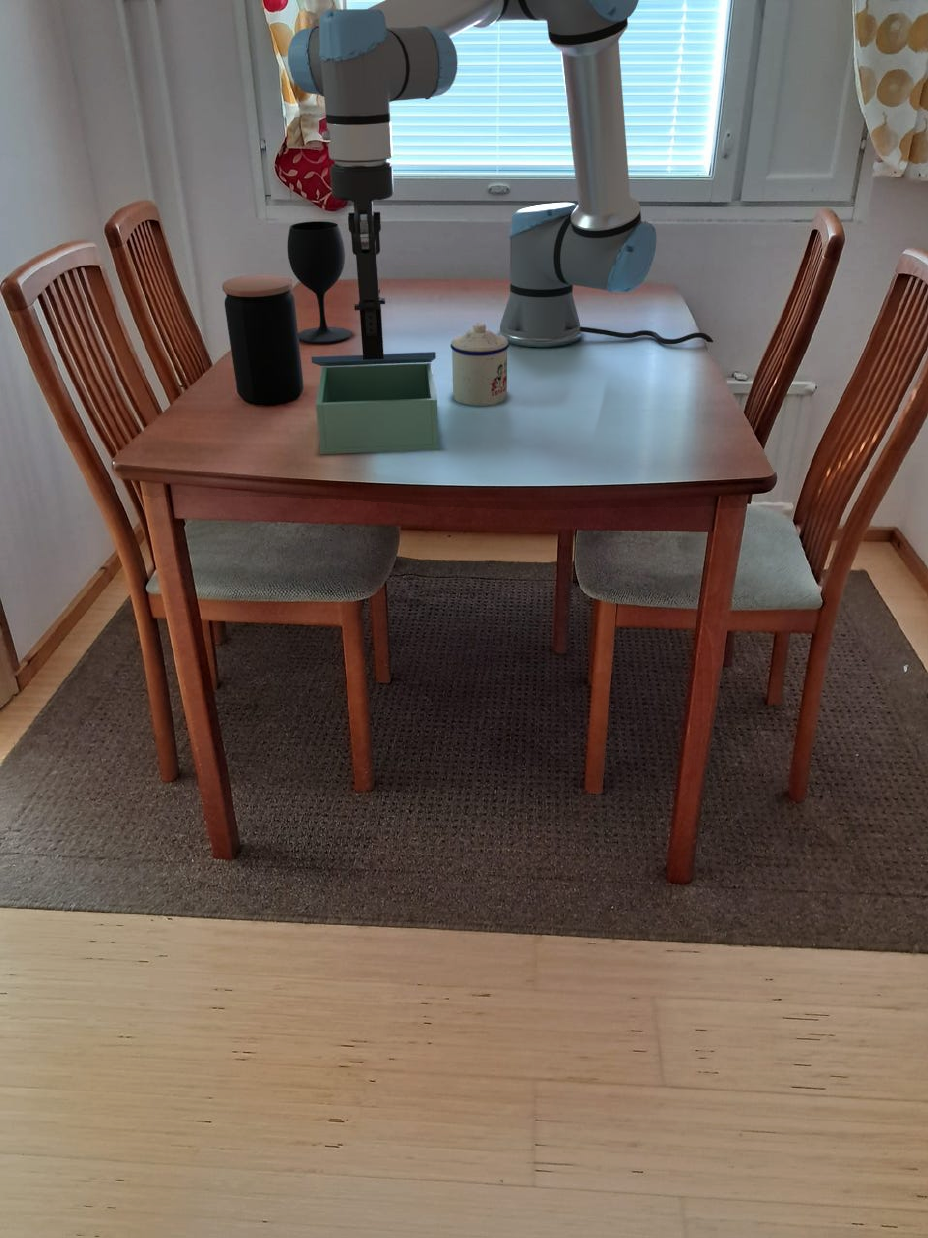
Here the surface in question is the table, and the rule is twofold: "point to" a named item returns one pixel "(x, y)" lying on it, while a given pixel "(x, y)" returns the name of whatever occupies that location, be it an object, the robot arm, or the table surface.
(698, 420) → the table surface
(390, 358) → the lunchbox lid
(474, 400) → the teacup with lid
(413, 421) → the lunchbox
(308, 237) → the wine glass
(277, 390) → the coffee jar
